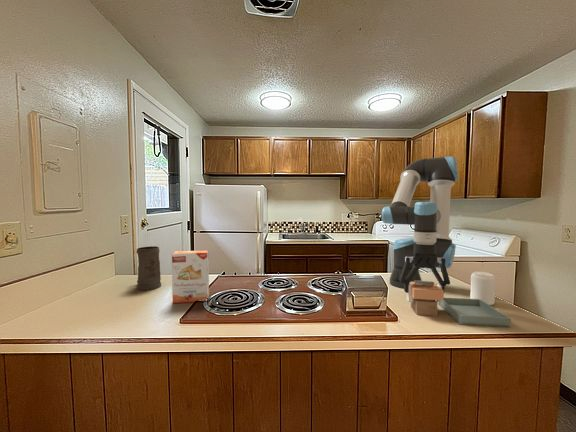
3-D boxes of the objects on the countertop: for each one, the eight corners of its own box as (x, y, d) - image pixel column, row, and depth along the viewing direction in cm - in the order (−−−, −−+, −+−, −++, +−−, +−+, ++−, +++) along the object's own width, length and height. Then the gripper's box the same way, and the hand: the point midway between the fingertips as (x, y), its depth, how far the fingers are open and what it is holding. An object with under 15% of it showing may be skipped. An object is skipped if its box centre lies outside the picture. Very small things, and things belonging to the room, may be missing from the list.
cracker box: (172, 304, 111) (171, 253, 110) (175, 299, 117) (174, 250, 116) (207, 301, 113) (206, 252, 112) (209, 297, 119) (208, 249, 118)
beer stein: (166, 285, 135) (164, 245, 135) (145, 291, 126) (143, 248, 126) (149, 283, 143) (146, 245, 143) (128, 288, 134) (125, 248, 134)
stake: (410, 307, 107) (411, 278, 106) (429, 308, 106) (430, 279, 105) (416, 314, 100) (417, 283, 99) (437, 315, 99) (437, 284, 98)
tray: (438, 304, 109) (438, 297, 109) (479, 306, 107) (479, 299, 107) (460, 324, 91) (460, 315, 91) (510, 327, 89) (510, 318, 89)
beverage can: (498, 306, 107) (499, 276, 106) (475, 305, 108) (476, 275, 108) (488, 299, 115) (488, 271, 114) (466, 298, 116) (467, 270, 116)
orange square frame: (413, 298, 98) (414, 289, 98) (405, 289, 109) (405, 280, 109) (443, 300, 97) (443, 290, 96) (432, 290, 108) (432, 281, 107)
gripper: (395, 243, 99) (394, 303, 100) (462, 245, 96) (460, 307, 97) (391, 241, 107) (390, 296, 108) (453, 242, 103) (451, 299, 104)
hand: (423, 301), depth 102 cm, fingers closed on orange square frame, 10 cm apart
